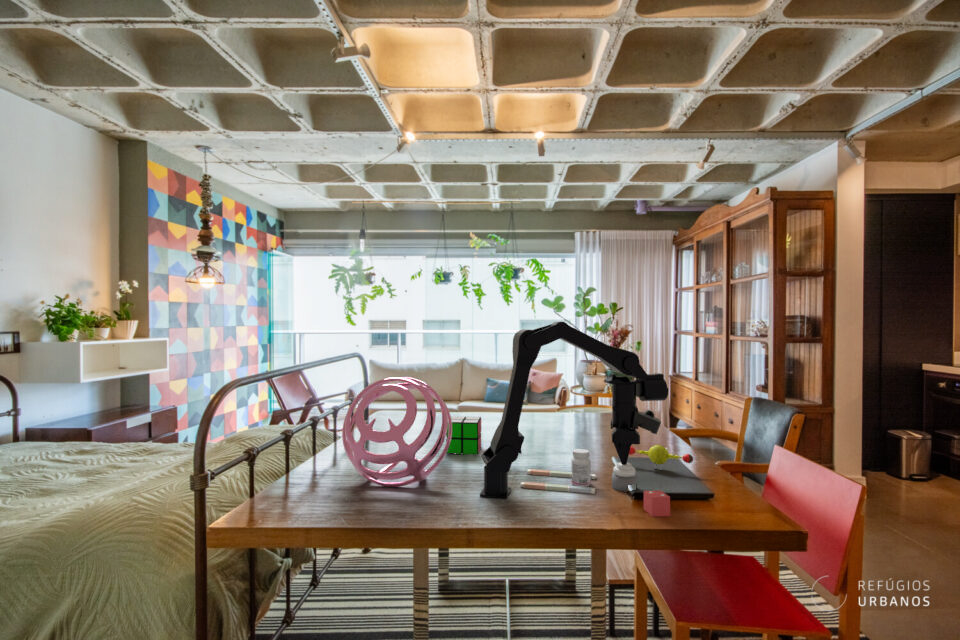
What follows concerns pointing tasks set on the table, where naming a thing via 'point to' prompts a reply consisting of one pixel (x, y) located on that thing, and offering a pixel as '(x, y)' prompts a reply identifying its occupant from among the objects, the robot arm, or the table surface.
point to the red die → (656, 503)
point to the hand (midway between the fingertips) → (624, 464)
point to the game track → (617, 484)
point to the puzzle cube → (465, 435)
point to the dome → (624, 470)
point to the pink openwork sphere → (395, 433)
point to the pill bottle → (581, 468)
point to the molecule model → (660, 454)
